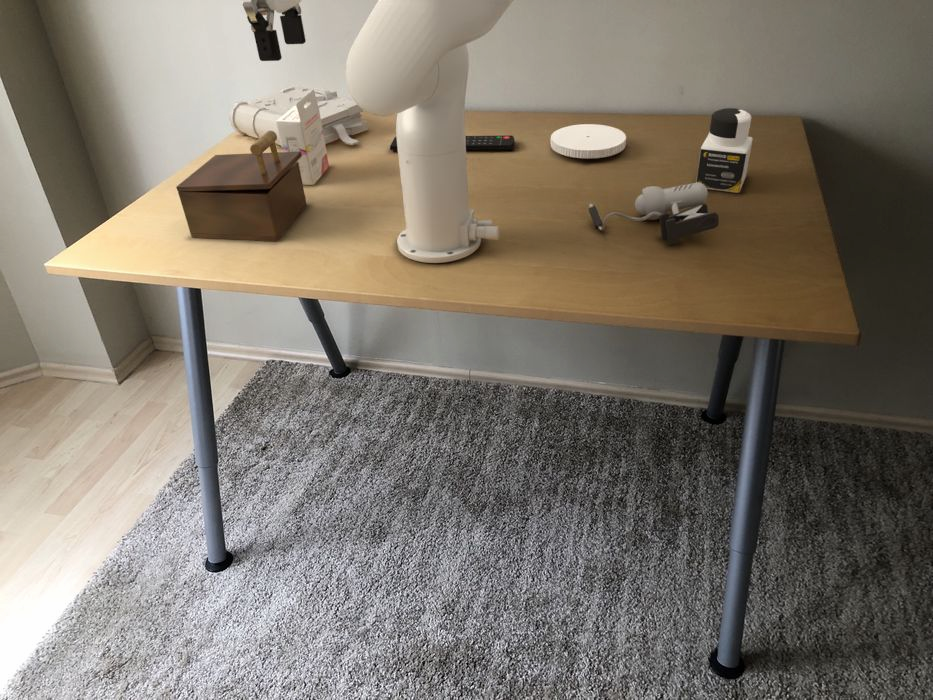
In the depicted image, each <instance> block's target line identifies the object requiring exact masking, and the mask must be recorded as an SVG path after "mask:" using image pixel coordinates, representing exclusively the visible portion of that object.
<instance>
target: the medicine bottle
mask: <svg viewBox="0 0 933 700" xmlns="http://www.w3.org/2000/svg"><path fill="white" fill-rule="evenodd" d="M751 123H752V115H751V114H750V113H749V112H748V111H746V110H744V109H741V108H736V107H726V108H721V109H718V110H716V111H714V112H713V113H712V114H711V118H710V123H709V124H710V125H709V131H708V134H707V136H706V138H705V139H704V142H703V143H702V145H701V147H700V151H699V160H698V165H697V173H696V179H695V183H697V182H699V183H702V184H703V185H704V186H705V187H706V188H707V190H710V191H718V192H725V193H734V194H739V193H740V192H741V190H742V187H743V184H744V183H745V180H746V177H747V173H748V167H749V162H750V157H751V151H752V146H753V140H754V138H753V137H752V136H749V133H750V128H751Z"/></svg>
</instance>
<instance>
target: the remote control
mask: <svg viewBox="0 0 933 700" xmlns="http://www.w3.org/2000/svg"><path fill="white" fill-rule="evenodd" d="M465 138H466V151H469V150H471V151H472V150H473V151H474V150H515V146H516V145H515V143H516V142H515V137H514V135H510V134H509V135H465ZM389 150H390V151H398V148H397V138H396V136H394V138H393V140H392V142H391V143H390V145H389Z"/></svg>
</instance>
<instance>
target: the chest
mask: <svg viewBox="0 0 933 700" xmlns="http://www.w3.org/2000/svg"><path fill="white" fill-rule="evenodd" d="M246 190H251V191H265V192H264V193H255V192H234V191H236V190H213V191H180V192H178V191H177V193H178V194H177V195H178V197H179V200H180V203H181V204H180V205H181V208H182V210H183V213H184V217H185V220H186V223H187V227H188V230H189V234H190V236H191V238H195V239H215V240H217V239H218V240H236V241H237V240H238V241H257V242H258V241H261V242H278V241H279V240H280V238H281V237H282V236H283V235H284V233H285V232H287V230H288V229H289V227H290V226H291V225H292V224H293V223H294V222H295V221H296V219H297V218H298V217H299V216H300V215H301V214H302V212H303V211H304V210H305V208H306V207H307V205H308V203H307V199H306V193H305V189H304V185H303V183H302V178H301V173H300V167H299V162H296V163H295V164H294V165H293V166H292V167H291V168H290V169H289V170H288V171H287V172H286V173H285V174H284V175H283V176H282V177H281V178H280V179H279V180H278V181H277V182H276V183H275V184H274V185H273V186H272V187H271V188H270V189H246Z"/></svg>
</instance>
